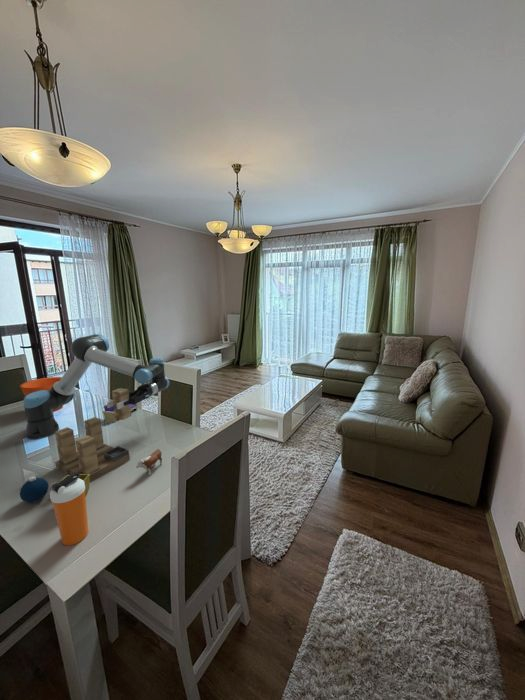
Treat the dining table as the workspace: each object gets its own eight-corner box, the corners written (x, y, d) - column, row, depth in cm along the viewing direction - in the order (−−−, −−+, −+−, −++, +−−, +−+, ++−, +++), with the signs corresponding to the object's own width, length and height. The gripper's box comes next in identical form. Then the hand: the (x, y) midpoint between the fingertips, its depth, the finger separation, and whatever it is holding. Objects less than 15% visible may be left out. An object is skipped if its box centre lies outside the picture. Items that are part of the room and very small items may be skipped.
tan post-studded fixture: (56, 468, 125) (49, 432, 122) (99, 447, 143) (95, 415, 139) (86, 484, 114) (80, 445, 111) (130, 459, 131) (126, 425, 128)
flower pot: (69, 495, 108) (66, 474, 106) (93, 494, 108) (90, 473, 107) (54, 512, 99) (50, 490, 97) (80, 511, 100) (77, 488, 98)
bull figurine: (135, 478, 117) (133, 461, 116) (158, 461, 129) (156, 445, 128) (143, 481, 116) (141, 463, 114) (165, 463, 128) (164, 447, 126)
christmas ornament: (46, 489, 112) (42, 466, 110) (53, 498, 106) (48, 474, 104) (19, 501, 105) (14, 477, 103) (24, 511, 100) (20, 486, 98)
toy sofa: (114, 423, 171) (113, 407, 169) (103, 421, 173) (101, 405, 171) (138, 409, 191) (137, 395, 189) (128, 408, 193) (126, 394, 191)
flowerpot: (52, 416, 181) (47, 387, 177) (14, 417, 181) (9, 388, 177) (78, 402, 205) (74, 376, 202) (44, 402, 206) (40, 377, 202)
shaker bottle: (98, 528, 92) (90, 474, 88) (72, 552, 84) (62, 493, 80) (78, 522, 95) (69, 469, 91) (51, 543, 86) (40, 486, 83)
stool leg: (115, 418, 136) (111, 391, 133) (123, 414, 141) (120, 388, 138) (123, 419, 134) (120, 392, 132) (131, 415, 139) (128, 389, 136)
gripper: (161, 398, 151) (128, 415, 129) (134, 395, 156) (98, 411, 135) (160, 384, 149) (127, 400, 128) (133, 382, 155) (97, 396, 133)
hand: (112, 405), depth 131 cm, fingers closed on stool leg, 5 cm apart
